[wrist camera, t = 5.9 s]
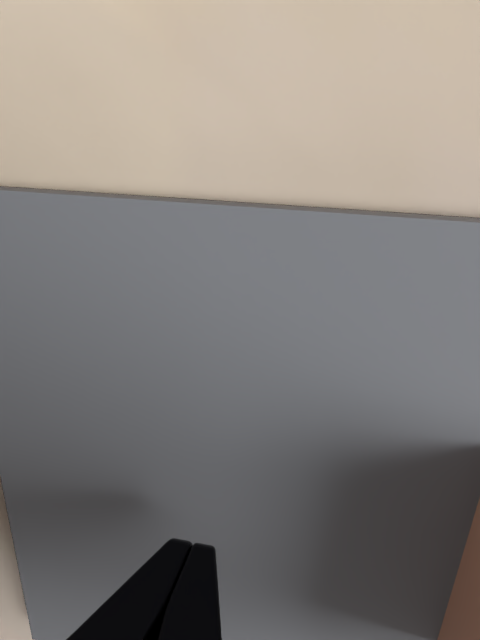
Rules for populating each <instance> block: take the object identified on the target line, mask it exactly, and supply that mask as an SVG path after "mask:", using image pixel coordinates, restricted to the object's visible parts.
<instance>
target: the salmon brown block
mask: <svg viewBox="0 0 480 640" xmlns="http://www.w3.org/2000/svg"><path fill="white" fill-rule="evenodd" d="M437 640H480V498H479V501H478V505H477V508H476V511H475V515H474V518H473V521H472V525H471V528H470V532H469V535H468V538H467V542H466V545H465V548H464V552H463V555H462V558H461V562H460V565H459V568H458V572H457V575H456V579H455V582H454V585H453V589H452V592H451V595H450V599H449V602H448V605H447V609H446V612H445V616H444V619H443V622H442V626H441V629H440V632H439V636H438V639H437Z"/></svg>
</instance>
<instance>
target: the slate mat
mask: <svg viewBox="0 0 480 640" xmlns="http://www.w3.org/2000/svg"><path fill="white" fill-rule="evenodd" d="M0 477H1V482H2V487H3V493H4V498H5V503H6V508H7V513H8V518H9V523H10V528H11V533H12V538H13V543H14V548H15V553H16V558H17V563H18V568H19V573H20V578H21V583H22V588H23V594H24V599H25V604H26V609H27V614H28V619H29V624H30V629H31V634H32V639H35V640H66V639H67V638H68V637H69V636H70V635H71V634H72V633H74V632H75V631H76V630H77V629H78V628H79V627H80V626H81V625H82V624H83V623H84V622H85V621H86V620H87V619H88V618H89V617H90V616H91V615H92V614H93V613H94V612H95V611H96V610H97V609H98V608H99V607H100V606H101V605H102V604H103V603H104V602H105V601H106V600H107V599H108V598H109V597H111V596H112V595H113V594H114V593H115V592H116V591H117V590H118V589H119V588H120V587H121V586H122V585H123V584H124V583H125V582H126V581H127V580H128V579H129V578H130V577H131V576H132V575H133V574H134V573H135V572H136V571H137V570H138V569H139V568H140V567H141V566H142V565H143V564H144V563H145V562H146V561H148V560H149V559H150V558H151V557H152V556H153V555H154V554H155V553H156V552H157V551H158V550H159V549H160V548H161V547H162V546H163V545H164V544H165V543H166V542H167V541H168V540H170V539H172V538H177V539H182V540H187V541H190V542H191V543H192V544H194V543H202V544H207V545H212V546H214V547H215V550H216V563H217V577H218V591H219V605H220V620H221V634H222V640H437V639H438V636H439V632H440V629H441V626H442V622H443V619H444V616H445V612H446V609H447V605H448V602H449V599H450V595H451V592H452V589H453V585H454V582H455V579H456V575H457V572H458V568H459V565H460V562H461V558H462V555H463V552H464V548H465V545H466V542H467V538H468V535H469V532H470V528H471V525H472V521H473V518H474V515H475V511H476V508H477V505H478V501H479V498H480V218H472V217H457V216H441V215H426V214H411V213H396V212H381V211H366V210H351V209H336V208H321V207H305V206H290V205H275V204H260V203H245V202H230V201H215V200H200V199H185V198H170V197H154V196H139V195H124V194H109V193H94V192H79V191H64V190H49V189H34V188H18V187H3V186H0Z"/></svg>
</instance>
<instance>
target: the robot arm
mask: <svg viewBox="0 0 480 640" xmlns="http://www.w3.org/2000/svg"><path fill="white" fill-rule="evenodd" d="M66 640H222V634H221V620H220V605H219V591H218V577H217V563H216V550H215V547H214V546H212V545H207V544H202V543H194V544H192V543H191V542H190V541H187V540H182V539H177V538H172V539H170V540H168V541H167V542H166V543H165V544H164V545H163V546H162V547H161V548H160V549H159V550H158V551H157V552H156V553H155V554H154V555H153V556H152V557H151V558H150V559H149V560H148V561H146V562H145V563H144V564H143V565H142V566H141V567H140V568H139V569H138V570H137V571H136V572H135V573H134V574H133V575H132V576H131V577H130V578H129V579H128V580H127V581H126V582H125V583H124V584H123V585H122V586H121V587H120V588H119V589H118V590H117V591H116V592H115V593H114V594H113V595H112V596H111V597H109V598H108V599H107V600H106V601H105V602H104V603H103V604H102V605H101V606H100V607H99V608H98V609H97V610H96V611H95V612H94V613H93V614H92V615H91V616H90V617H89V618H88V619H87V620H86V621H85V622H84V623H83V624H82V625H81V626H80V627H79V628H78V629H77V630H76V631H75V632H74V633H72V634H71V635H70V636H69V637H68V638H67V639H66Z"/></svg>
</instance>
